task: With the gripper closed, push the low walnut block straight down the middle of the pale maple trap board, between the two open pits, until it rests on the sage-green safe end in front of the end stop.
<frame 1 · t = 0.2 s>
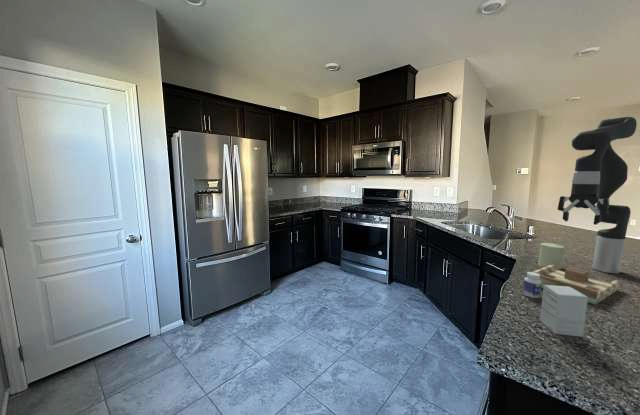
hand: (580, 222, 103), 28 cm above the countertop, tool pointing down, fingers open, 8 cm apart
block: (576, 279, 111), point 2 cm above the countertop, touching trap board
can: (549, 266, 133), on the countertop
pill bottle: (530, 295, 101), on the countertop
trap board: (569, 286, 109), on the countertop
supplement box: (559, 329, 78), on the countertop
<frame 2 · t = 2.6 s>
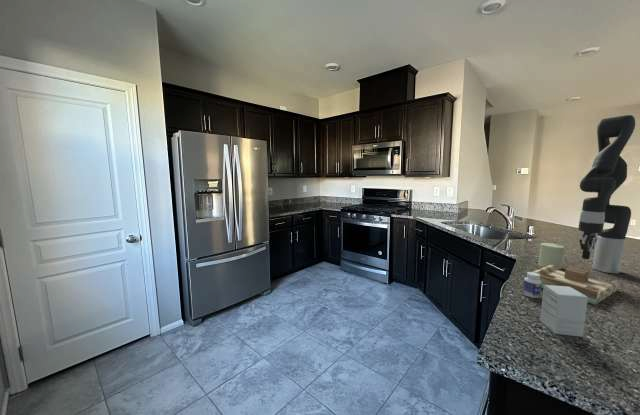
hand: (585, 258, 115), 10 cm above the countertop, tool pointing down, fingers closed
nothing on the countertop moved.
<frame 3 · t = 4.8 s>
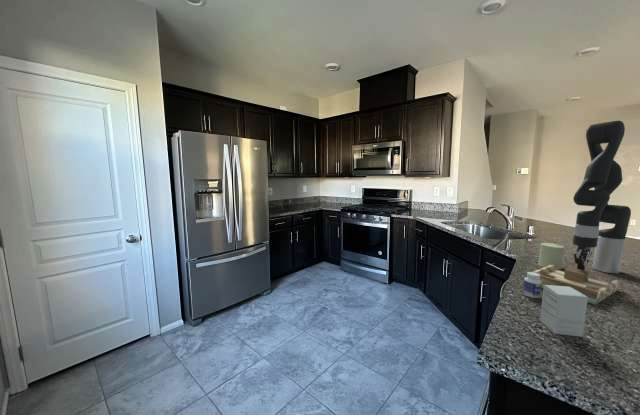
hand: (580, 272, 113), 4 cm above the countertop, tool pointing down, fingers closed
block: (575, 279, 111), point 2 cm above the countertop, touching gripper, trap board
everything else where it was.
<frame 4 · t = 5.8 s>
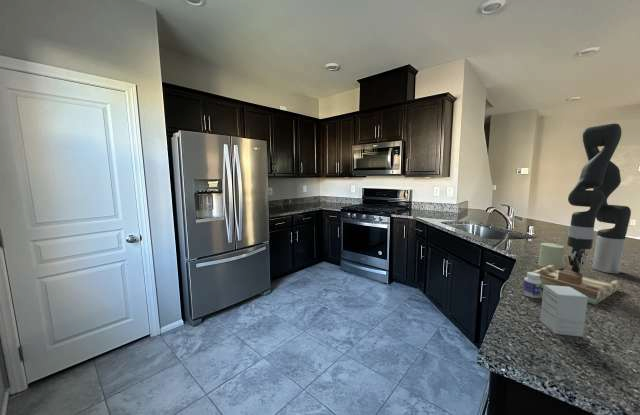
hand: (575, 274, 110), 4 cm above the countertop, tool pointing down, fingers closed
block: (569, 281, 109), point 2 cm above the countertop, touching gripper
everything else where it was.
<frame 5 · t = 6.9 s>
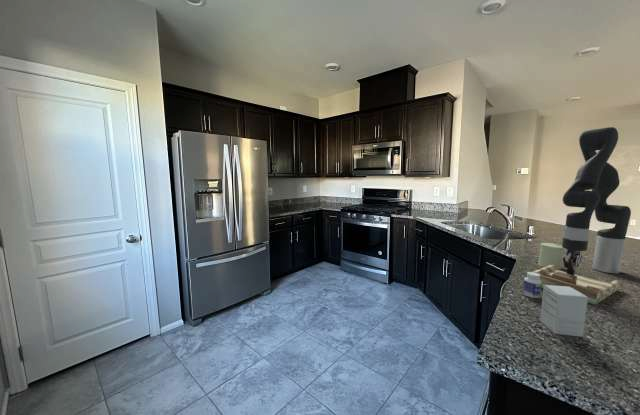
hand: (570, 277, 108), 4 cm above the countertop, tool pointing down, fingers closed
block: (563, 284, 106), point 2 cm above the countertop, touching gripper, trap board
everything else where it was.
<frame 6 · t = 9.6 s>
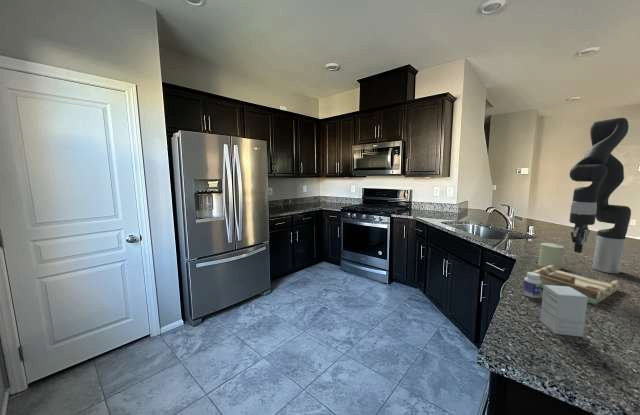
hand: (577, 252, 108), 15 cm above the countertop, tool pointing down, fingers closed
block: (561, 284, 105), point 2 cm above the countertop, touching trap board
everything else where it was.
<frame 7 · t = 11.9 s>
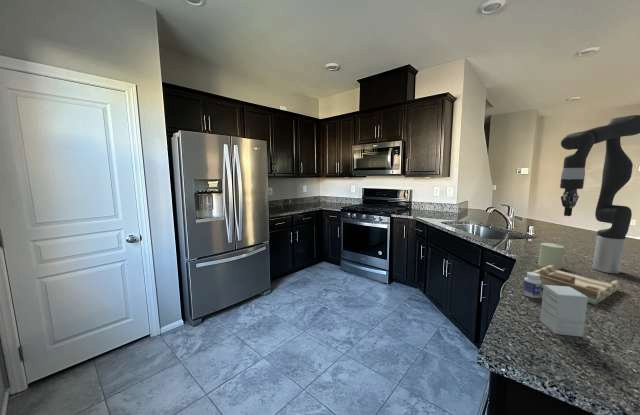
hand: (567, 215, 117), 29 cm above the countertop, tool pointing down, fingers closed
nothing on the countertop moved.
at the end: block inside the target area on the trap board (1.6 cm from its centre), point 2.0 cm above the trap board's base; block touching trap board; block tilted 0° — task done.
